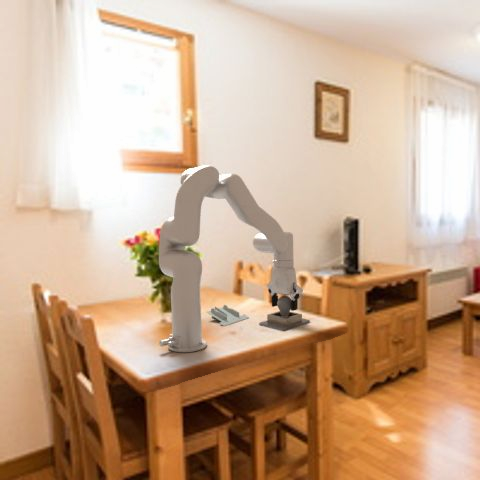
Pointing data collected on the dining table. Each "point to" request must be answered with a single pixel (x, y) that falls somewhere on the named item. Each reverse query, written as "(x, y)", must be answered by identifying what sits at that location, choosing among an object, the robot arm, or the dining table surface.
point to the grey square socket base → (284, 321)
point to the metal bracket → (226, 315)
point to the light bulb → (284, 305)
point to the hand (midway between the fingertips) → (284, 308)
